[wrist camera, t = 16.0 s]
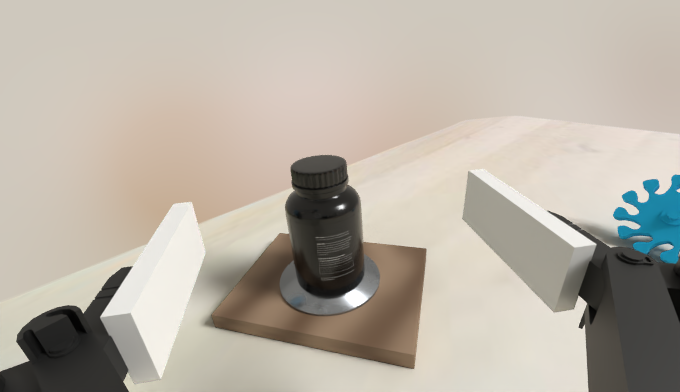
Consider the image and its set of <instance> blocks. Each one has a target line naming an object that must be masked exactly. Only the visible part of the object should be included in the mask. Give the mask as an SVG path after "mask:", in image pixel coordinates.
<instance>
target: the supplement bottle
mask: <svg viewBox="0 0 680 392" xmlns="http://www.w3.org/2000/svg"><path fill="white" fill-rule="evenodd" d="M291 176H292V187H293V189H294V190H295V191H293V192H292V193H291V194H290V196H289V197H288V199H287V201H286V204H285V211H286V218H287V224H288V230H289V236H290V242H291V248H292V254H293V260H294V265H295V271H296V276H297V280H298V283H299V285H300V286H301V288H302V289H303V290H305V291H306V292H308V293H309V294H311V295H314V296H318V297H325V298H330V297H337V296H341V295H344V294H347V293H349V292H351V291H352V290H354V289H355V288H356V287H357V286H358V285H359V284H360V283H361V281H362V280H363V277H364V273H365V264H364V246H363V230H362V213H361V201H360V197H359V195H358V193H357V192H356V190H355V189H354V188H352V187H351V186H349V185H347V184H348V181H349V180H348V174H347V164H346V160H345V159H343V158H341V157H339V156H332V155H320V156H311V157H306V158H303V159H301V160H298V161H296V162H295V163H293V164H292V165H291Z"/></svg>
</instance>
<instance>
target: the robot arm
mask: <svg viewBox="0 0 680 392" xmlns="http://www.w3.org/2000/svg"><path fill="white" fill-rule="evenodd" d="M462 219H463V220H464V221H465V222H466V223H467V224H468V225H469V226H470V227H471V228H472V229H473V230H474V231H475V232H476V233H477V234H478V235H479V236H480V237H481V238H482V239H483V240H484V241H485V243H486V244H487V245H488V246H489V247H490V248H491V249H492V250H493V251H494V252H495V253H496V254H497V255H498V256H499V257H500V258H501V259H502V260H503V261H504V262H505V263H506V264H507V265H508V266H509V267H510V268H511V269H512V270H513V271H514V272H515V273H516V274H517V275H518V276H519V277H520V278H521V279H522V280H523V281H524V282H525V283H526V284H527V285H528V286H529V287H530V288H531V290H532V291H533V292H534V293H535V294H536V295H537V296H538V297H539V298H540V299H541V300H542V301H543V302H544V303H545V304H546V305H547V306H548V307H549V308H550V309H551V310H552V311H553V312H560V311H566V310H572V309H574V307H575V304H576V302H577V299H578V296H580V297H581V298H582V299H583V300H585V301H586V302H587V306H586V308H585V311H584V314H583V316H582V319H581V322H580V324H579V327H578V328H581V329H582V328H583V326H584V325H585V332H586V351H587V369H588V388H589V392H680V257H679V259H678V261H677V263H676V264H673V263H658V262H656V261H655V260H654V259H653V258H651V257H650V256H648V255H646V254H644V253H642V252H640V251H637V250H633V249H630V248H624V247H612V248H610V247H609V246H607V245H606V244H604V243H603V242H601V241H600V240H598V239H596V238H595V237H593V236H592V235H590V234H589V233H587V232H586V231H584V230H581V228H579V227H578V226H576V225H575V224H572V222H570V221H569V220H567V219H566V218H564V217H562V216H560V215H558V214H555V213H553V212H550V211H546V210H544V209H543V208H541V207H540V206H538V205H537V204H535V203H534V202H532V201H531V200H529V199H528V198H526V197H525V196H523V195H522V194H520V193H519V192H517V191H516V190H514V189H513V188H511V187H510V186H508V185H507V184H505V183H504V182H502V181H501V180H499V179H498V178H496V177H495V176H493V175H492V174H490V173H489V172H487V171H486V170H484V169H478V170H469V172H468V180H467V188H466V195H465V203H464V211H463V218H462ZM205 254H206V251H205V247H204V244H203V240H202V237H201V233H200V230H199V226H198V223H197V219H196V216H195V212H194V209H193V205H192V202H186V203H177V204H173V206H172V207H171V209H170V210H169V212H168V214H167V215H166V216H165V218H164V219H163V221H162V223H161V224H160V226H159V227H158V229H157V230H156V232H155V233H154V235H153V237H152V238H151V240H150V241H149V243H148V244H147V246H146V247H145V249H144V250H143V252H142V253H141V255H140V256H139V258H138V260H137V261H136V263H135V264H134V266H132V267H124V268H121V269H120V270H119V271H117V272H116V273H115V274H114V275H112V276H111V277H110V278H109V279H108V280H107V282H106V283H105V284H104V286H103V287H102V290H101V291H99V293H98V294H97V296H96V297H95V300H93V301H92V303H91V304H90V305H89V307H88V308H87V310H86V311H85V312H84V314H83V313H82V311H81V309H80V308H78V307H77V306H69V305H67V306H62V307H57V308H54V309H52V310H49V311H47V312H44V313H43V314H41V315H39V316H37V317H36V318H34V319H32V320H31V321H30V322H29V323H28V324H26V325H25V326H24V327H23V328H22V329H21V331H20V332H19V333H18V335H17V341H16V342H17V343H18V345H19V346H20V347H21V349H22V350H23V352H24V353H25V355H26V356H27V358H28V359H29V360H30V361H28V362H25V363H23V364H20V365H17V366H14V367H12V368H9V369H6V370H3V371H1V372H0V392H129V391H128V389H127V388H126V386H125V384H124V383H123V381H124V379H125V377H126V374H127V372H128V373H129V375H130V377H131V379H132V381H133V383H134V384H138V383H144V382H150V381H156V380H161V378H162V375H163V372H164V369H165V367H166V364H167V361H168V358H169V355H170V352H171V350H172V347H173V344H174V341H175V338H176V336H177V333H178V330H179V327H180V324H181V321H182V319H183V316H184V313H185V310H186V307H187V305H188V302H189V299H190V296H191V293H192V290H193V288H194V285H195V282H196V279H197V276H198V274H199V271H200V268H201V265H202V262H203V259H204V257H205Z"/></svg>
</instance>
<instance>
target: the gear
mask: <svg viewBox="0 0 680 392" xmlns="http://www.w3.org/2000/svg"><path fill="white" fill-rule="evenodd" d="M671 180H672V185H671V187H670V189H669V190H668V191H667V192H666V193H664V194H661V195H658V194H655V191H657V190H658V189H659V181H658V180H657V179H652V180H646V181H644V182H643V186H644V189H645V190H646V191H647V192H648V193H649V199H648V201H647V202H645V203H640V202H638V201H637V200H638V197H637V193H636V192H635V191H629V192H627V193H625V194H623V195H622V198H623V200H624V202H626V203H629V204H632V205H633V206H635V207H636V208H637V209H638V210H639V214H637V215H630V214H628V212H627V211H626V209H624V208H622V207H618V208H617V209H616V210H615V212H614V214H613V216H614V218H615V219H616V220H628V221H632V222H635V223H637V224H639V225H640V226H641V227H640V228H639V229H636V230H633V229H631V228H629V227H627V226H619V227H618V234H619V236H620V238H621V239H628V238H630V237H633V236H649V237H652V238H653V240H652V241H651V242H636V243H634V244H633V247H634V249H635V250H637V251H640V252H642V253H644V254H646V255H647V254H648V253H649V252H650V250H651V249H653V248H654V247H656V246H659V245H662V244H671V245H673V246H674V248H673V249H671V250H668V251H664V252H662V253H661V254H660V258H661V260H662V261H663V262H666V263H673V264H676V263H677V261H678V254H679V251H680V193H679V192H677V191H676V190H677V189H679V188H680V175H674V176H673V177H672V179H671Z"/></svg>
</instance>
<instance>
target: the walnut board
mask: <svg viewBox="0 0 680 392" xmlns="http://www.w3.org/2000/svg"><path fill="white" fill-rule="evenodd" d="M363 246H364V264H365V273H364V277H363V280H362V281H361V283H360V284H359V285H358V286H357V287H356V288H355V289H354V290H352V291H351V292H349V293H347V294H344V295H341V296H337V297H330V298H325V297H318V296H314V295H311V294H309V293H308V292H306V291H305V290H303V289H302V288H301V286H300V285H299V283H298V280H297V276H296V271H295V265H294V260H293V254H292V248H291V242H290V236H289V234H283V233H280V234H279V235H278V236H277V237H276V238H275V240H274V241H273V242H272V243H271V244H270V246H269V247H268V248H267V249H266V250H265V252H264V253H263V254H262V255H261V256H260V257H259V259H258V260H257V261H256V262H255V263H254V265H253V266H252V267H251V268H250V269H249V271H248V272H247V273H246V274H245V275H244V277H243V278H242V279H241V280H240V281H239V283H238V284H237V285H236V286H235V287H234V289H233V290H232V291H231V292H230V293H229V295H228V296H227V297H226V298H225V299H224V300H223V302H222V303H221V304H220V305H219V306H218V308H217V309H216V310H215V311H214V312H213V314H212V318H213V321H214V325H215V327H218V328H222V329H227V330H232V331H237V332H241V333H246V334H251V335H256V336H261V337H265V338H270V339H275V340H280V341H284V342H289V343H294V344H299V345H303V346H308V347H313V348H318V349H322V350H327V351H332V352H337V353H341V354H346V355H351V356H356V357H361V358H365V359H370V360H375V361H380V362H384V363H389V364H394V365H399V366H403V367H408V368H413V369H414V366H415V357H416V348H417V338H418V329H419V320H420V310H421V301H422V291H423V282H424V273H425V263H426V249H424V248H415V247H405V246H396V245H387V244H377V243H368V242H363Z"/></svg>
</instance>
